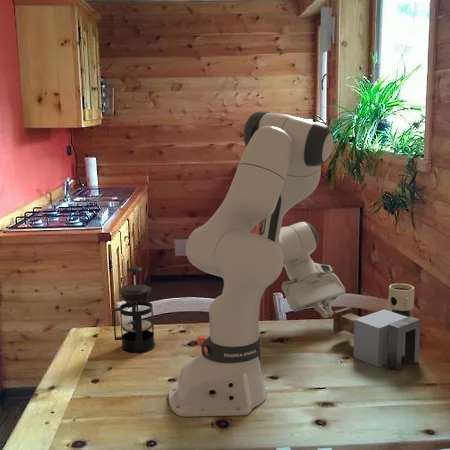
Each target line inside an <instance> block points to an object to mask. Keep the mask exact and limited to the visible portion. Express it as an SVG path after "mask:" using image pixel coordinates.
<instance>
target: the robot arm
mask: <svg viewBox="0 0 450 450" xmlns="http://www.w3.org/2000/svg"><path fill="white" fill-rule="evenodd" d="M242 135H243V136H242V138H243V142H244V143H243V144H244V145H245V149H244V151H243V153H242V155H241V157H240V160H239V163H238V165H237V167H236V171H235V174H234V176H233V179H232V182H231V183H230V186H229V189H228V192H227V193H226V196H225V198H224V200H223V201H222V203H221V204H220V206H219V207H218V208H217V210H216V211H215V212H214V214H213V215H212V216H211V217H210V218H209V219H208V220H207V221H206V222H205V223H204V224H203V225H201V226H199V227H197V228H196V229H194V230H193V231H192V232H191V233H190V235H189V236H188V237H187V240H186V242H185V244H186V245H185V255H186V257H187V260H188V261H189V263H190V264H192V266H194V267H195V268H197V269H198V270H200V271H202V272H203V273H206V274H210V275H212V276H216V277H218V278H219V277H220V278H222V280H223V288H222V292H221V294H220V295H219V296H217V297H216V298H214V299H213V300H212V301H211V303H210V305H209V307H208V310H209V311H208V313H209V314H208V315H209V316H208V317H209V336H208V337H207V338H206V337H205V336H204V335H198V336H197V337H196V338H197V339H196V341H197V345H198V346H199V347H201V353H200V354H198V355H197V356H195V358H194V359H192V360H191V361H190V362H188V363H187V364H186V365H184V366H183V367H182V368H181V370H180V372H179V376H178V380H177V381H178V382H177V383H175V384H173V385H172V386H171V387H170V389H169V392H168V403H169V406H170V407H169V408H170V409H171V410H172V412H173V413H175V414H176V415H178V416H179V417H215V416H216V417H219V416H220V417H221V416H222V417H224V416H225V417H227V416H246V415H247V416H248V414H250V413H251V412H252V410H253V409H254V408H256V407H257V406H259V405H260V404H262V403H263V402H264V401H265V400H266V398H267V391H266V388H265V385H264V380H263V376H262V369H261V359H262V357H261V356H262V341H261V336H260V335H259V333H260V332H259V330H260V329H259V319H260V305H261V301H262V298H263V295H264V293H265V291H266V289H267V288H268V287H269V286H270V285H272V284H273V283H274V282H275V281H276V280H278V278H279V277H280V276H281V273H282V271H283V267H284V269H285V271H286V275H287V277H288V279H289V280H285V281H283V282H282V284H281V290H282V292H283V294H284V297H285V300H286V301H287V305H288V306H289V308H290V310H291V311H293V312H294V313H295V312H299V311H303V310H305V309H309V308H313V309H314V311H317V312H318V313H319V314H320V315H321V317H322V318H323V319H326V318H330V317H332V316H333V315H334V311H333V309H332V303H331V302H333V301H336V300H338V299H341V298H342V297H343V296H344V295H346V288H345V286H344V284H343V283H342V282H341V280H340V278H339V277H338V276H337V275H336V274H335V273H334V270H333V268H332V266H331V265H329V264H322V263H317V262H315V261H314V260H313V259H312V258H311V256H310V255H311V254H312V253H314V252H315V251H316V249H317V247H318V245H319V242H320V237H319V234H318V232H317V230H316V229H315V227H314V226H313V225H312V224H310V223H309V222H307V221H300V222H295V223H293V224H291V225H288V226H282V224H283V218H284V217H285V215H286V214H287V212H289V210H291V209H292V208H293V207H294V206H295V205H296V204H298V203H300V202H301V201H304V199H306V198H307V197H309V196H310V195H312V193H314V191H315V190H316V189H317V187H318V185H319V182H320V179H321V173H322V165H323V164H325V163H326V162H327V161H328V160H329V157H330V155H331V153H332V150H333V148H334V135H333V131H332V130H331V128H330V127H329V126H328V125H327V124H324V123H322V122H319V121H315V122H314V121H312V120H309V119H306V118H302V117H299V116H294V115H292V114H291V115H290V114H287V113H286V114H285V113H279V112H276V113H275V112H269V111H266V110H265V111H255V112H254V113H252V114H251V115H250V116H249V117H248V119H246V122H245V125H244V128H243V134H242ZM259 223H261V225H260V226H261V227H260V232H259V233H253V232H252V231H253V229H254V228H255V227H256V226H257V225H258V224H259ZM324 307H325V308H324Z"/></svg>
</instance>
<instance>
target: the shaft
mask: <svg viewBox="0 0 450 450" xmlns="http://www.w3.org/2000/svg"><path fill="white" fill-rule="evenodd" d="M333 313H334V314H333V315H332V316H333V320H332V321H333V323H332V324H333V326H332V330H333V331H332V332H333V333H335V334H339V333H341V332H346V333H350V334H351V335H354V322H355V319H357V318H360V317H361V316H359V315H356V314H354V313H352V307H349V306H348V307H345V308H342V309H337V310H335V311H333ZM387 341H388V331H387Z"/></svg>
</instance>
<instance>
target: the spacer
mask: <svg viewBox="0 0 450 450" xmlns="http://www.w3.org/2000/svg"><path fill="white" fill-rule="evenodd" d="M403 333H405V356H404V361H407V362H409V363H411V364H413V365H414V364H417V363H419V358H420V341H421V340H420V338H421V319H420V318H418V317H413V316H412V315H410V317H407V318H404V319H402V320H399V321H396V322H393V323H391V324H388V341H387V363H386V368H387V369H390V370H391V371H394V372H398V371H401V370H402V357H401V355H402V334H403Z"/></svg>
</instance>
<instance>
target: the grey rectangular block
mask: <svg viewBox="0 0 450 450" xmlns="http://www.w3.org/2000/svg"><path fill="white" fill-rule="evenodd" d="M404 318H407V317H406V316H403V315H400V314H397V313H394V312H392V310H388V309H381V310H379V311H376V312H373V313H369V314H367V315H363V316H360V318H357V319H355V322H354V334H353V335H354V336H353V358H356V359H358V360H360V361H362V362H365V363H367V364H370V365H372V366H374V367H377V368H379V367H381V366H383V365H387V331H388V324H391V323H393V322H396V321H399V320H402V319H404ZM403 357H405V333H403V334H402V355H401V358H403Z"/></svg>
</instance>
